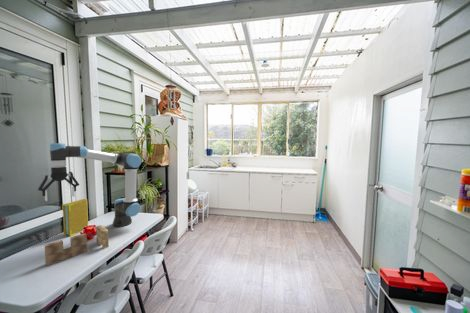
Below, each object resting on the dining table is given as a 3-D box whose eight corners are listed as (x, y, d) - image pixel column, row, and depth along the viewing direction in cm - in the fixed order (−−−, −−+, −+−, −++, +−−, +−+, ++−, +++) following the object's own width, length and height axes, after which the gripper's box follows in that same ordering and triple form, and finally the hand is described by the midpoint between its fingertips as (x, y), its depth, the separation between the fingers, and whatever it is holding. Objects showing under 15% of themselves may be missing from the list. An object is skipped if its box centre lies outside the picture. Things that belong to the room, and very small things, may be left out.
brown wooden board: (85, 250, 133) (85, 233, 133) (87, 251, 132) (86, 234, 131) (45, 264, 118) (44, 244, 117) (46, 266, 116) (45, 246, 115)
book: (70, 236, 152) (69, 205, 151) (63, 235, 154) (62, 204, 152) (90, 227, 169) (89, 199, 167) (84, 226, 170) (83, 198, 169)
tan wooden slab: (101, 240, 146) (101, 225, 146) (108, 246, 138) (108, 230, 137) (96, 242, 144) (96, 226, 143) (103, 248, 136) (103, 231, 135)
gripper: (80, 164, 140) (81, 193, 141) (30, 168, 120) (32, 201, 122) (83, 165, 135) (85, 195, 137) (32, 169, 116) (34, 204, 117)
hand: (60, 198), depth 129 cm, fingers open, 13 cm apart
